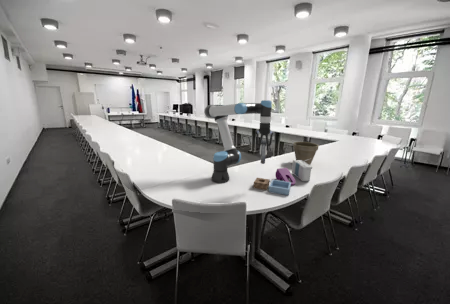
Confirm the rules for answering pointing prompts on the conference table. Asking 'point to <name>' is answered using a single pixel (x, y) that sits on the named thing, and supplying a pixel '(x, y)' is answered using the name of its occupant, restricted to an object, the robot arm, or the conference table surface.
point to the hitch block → (261, 183)
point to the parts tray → (280, 187)
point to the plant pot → (305, 151)
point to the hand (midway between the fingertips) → (263, 154)
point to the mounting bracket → (285, 175)
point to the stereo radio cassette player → (301, 170)
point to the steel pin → (263, 151)
